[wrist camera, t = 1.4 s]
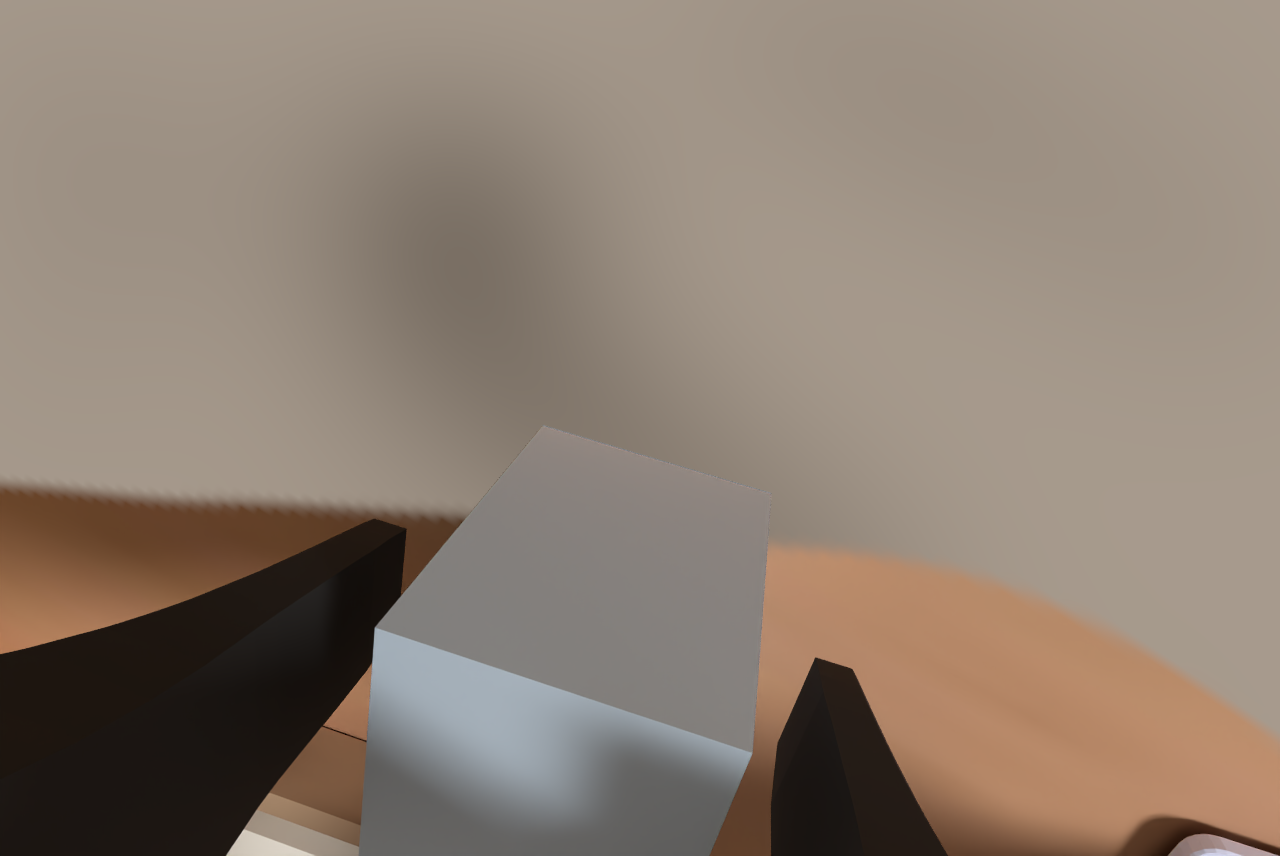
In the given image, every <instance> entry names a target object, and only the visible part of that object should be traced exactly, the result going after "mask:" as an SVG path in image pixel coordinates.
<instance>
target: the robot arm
mask: <svg viewBox="0 0 1280 856" xmlns="http://www.w3.org/2000/svg"><path fill="white" fill-rule="evenodd" d="M406 530H407V529H405V528H402V527H399V526H396V525H393V524H389V523H386V522H383V521H380V520H377V519H372V520H370V521H368V522H365V523H363V524H361V525H358V526H356V527H354V528H352V529H350V530H348V531H346V532H343V533H341V534H339V535H337V536H335V537H333V538H331V539H329V540H327V541H324V542H322V543H320V544H318V545H316V546H314V547H312V548H310V549H307V550H305V551H303V552H301V553H299V554H296V555H294V556H292V557H290V558H288V559H285V560H283V561H281V562H279V563H277V564H274V565H272V566H270V567H268V568H266V569H263V570H261V571H259V572H256V573H254V574H251V575H249V576H247V577H244V578H242V579H239V580H237V581H234V582H232V583H229V584H227V585H224V586H222V587H220V588H217V589H215V590H212V591H210V592H207V593H205V594H202V595H200V596H197V597H195V598H192V599H189V600H187V601H184V602H181V603H178V604H176V605H173V606H170V607H167V608H164V609H161V610H159V611H155V612H152V613H149V614H146V615H143V616H140V617H137V618H134V619H131V620H128V621H125V622H122V623H118V624H115V625H112V626H108V627H105V628H101V629H98V630H94V631H90V632H86V633H83V634H79V635H75V636H71V637H68V638H64V639H60V640H56V641H53V642H49V643H45V644H41V645H38V646H34V647H30V648H26V649H22V650H18V651H13V652H9V653H4V654H0V856H226V855H227V854H228V852H229V851H230V849H231V848H232V846H233V845H234V843H235V842H236V840H237V839H238V837H239V836H240V834H241V833H242V831H243V830H244V828H245V827H246V825H247V824H248V822H249V821H250V819H251V818H252V816H253V815H254V813H255V812H256V810H257V809H258V807H259V806H260V804H261V803H262V802H263V800H264V799H265V798H266V796H267V795H268V794H269V792H270V791H271V790H272V788H273V787H274V786H275V784H276V783H277V782H278V780H279V779H280V778H281V777H282V775H283V774H284V773H285V772H286V770H287V769H288V768H289V767H290V765H291V764H292V763H293V762H294V761H295V759H296V758H297V757H298V756H299V754H300V753H301V752H302V751H303V749H304V748H305V747H306V746H307V744H308V743H309V742H310V741H311V740H312V738H313V737H314V736H315V735H316V733H317V732H318V731H319V730H320V728H321V727H322V726H323V725H324V723H325V722H326V721H327V720H328V719H329V717H330V716H331V715H332V714H333V712H334V711H335V710H336V709H337V707H338V706H339V705H340V704H341V702H342V701H343V700H344V699H345V697H346V696H347V695H348V694H349V692H350V691H351V690H352V689H353V687H354V686H355V685H356V684H357V682H358V681H359V680H360V678H361V677H362V676H363V675H364V673H365V672H366V671H367V670H368V668H369V666H370V665H371V663H372V662H373V648H374V634H375V627H376V626H377V625H378V623H379V622H380V621H381V620H382V619H383V617H384V616H385V615H386V614H387V612H388V611H389V610H390V609H391V608H392V606H393V605H394V604H395V603H396V602H397V600H398V599H399V598H400V597H401V586H402V574H403V563H404V552H405V541H406ZM771 856H948V855H947V854H946V852H945V850H944V848H943V847H942V845H941V843H940V841H939V840H938V838H937V836H936V834H935V833H934V831H933V829H932V828H931V826H930V824H929V822H928V821H927V819H926V817H925V815H924V813H923V811H922V810H921V808H920V806H919V804H918V802H917V801H916V799H915V797H914V795H913V793H912V791H911V789H910V787H909V785H908V783H907V781H906V779H905V777H904V775H903V774H902V772H901V770H900V768H899V766H898V764H897V762H896V760H895V758H894V756H893V754H892V752H891V750H890V748H889V746H888V744H887V742H886V740H885V737H884V735H883V733H882V731H881V729H880V727H879V725H878V723H877V721H876V718H875V716H874V714H873V712H872V710H871V708H870V705H869V703H868V701H867V699H866V697H865V694H864V692H863V690H862V688H861V686H860V684H859V681H858V679H857V677H856V675H855V673H854V671H853V669H851V668H848V667H844V666H841V665H838V664H835V663H832V662H828V661H825V660H822V659H819V658H816V657H815V660H814V662H813V664H812V666H811V669H810V671H809V673H808V676H807V678H806V680H805V682H804V685H803V687H802V689H801V691H800V694H799V696H798V698H797V700H796V703H795V705H794V707H793V710H792V712H791V714H790V716H789V719H788V721H787V723H786V725H785V728H784V730H783V732H782V735H781V737H780V739H779V741H778V745H777V754H776V762H775V771H774V780H773V790H772V801H771ZM1168 856H1278V855H1275V854H1272V853H1269V852H1266V851H1263V850H1260V849H1257V848H1253V847H1250V846H1247V845H1244V844H1241V843H1238V842H1235V841H1232V840H1229V839H1226V838H1223V837H1219V836H1216V835H1210V834H1195V835H1192V836H1189V837H1186V838H1185V839H1183V840H1182V841H1181V842H1179V844H1178V845H1177V846H1176V847H1175V848H1174V849H1173V850H1172V851H1171V853H1170V854H1169V855H1168Z"/></svg>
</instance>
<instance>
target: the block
mask: <svg viewBox="0 0 1280 856" xmlns="http://www.w3.org/2000/svg"><path fill="white" fill-rule="evenodd" d="M770 506H771V493H769V492H766V491H763V490H760V489H756V488H752V487H749V486H746V485H743V484H739V483H736V482H733V481H729V480H726V479H723V478H719V477H716V476H712V475H709V474H706V473H702V472H699V471H696V470H692V469H689V468H686V467H682V466H679V465H675V464H672V463H669V462H665V461H662V460H659V459H655V458H652V457H649V456H645V455H642V454H638V453H635V452H632V451H628V450H625V449H621V448H618V447H615V446H612V445H608V444H605V443H601V442H598V441H595V440H591V439H588V438H584V437H581V436H577V435H574V434H571V433H568V432H564V431H561V430H558V429H554V428H551V427H548V426H544V425H543V426H542V427H541V428H540V429H539V431H538V432H537V433H536V434H535V435H534V437H533V438H532V439H531V440H530V441H529V443H528V444H527V445H526V446H525V447H524V449H523V450H522V451H521V452H520V453H519V455H518V456H517V457H516V458H515V460H514V461H513V462H512V463H511V464H510V465H509V467H508V468H507V469H506V470H505V472H504V473H503V474H502V475H501V476H500V477H499V479H498V480H497V481H496V482H495V484H494V485H493V486H492V487H491V489H490V490H489V491H488V492H487V493H486V495H485V496H484V497H483V498H482V499H481V500H480V502H479V503H478V504H477V505H476V506H475V508H474V509H473V510H472V511H471V512H470V514H469V515H468V516H467V517H466V518H465V520H464V521H463V522H462V523H461V524H460V526H459V527H458V528H457V529H456V531H455V532H454V533H453V534H452V535H451V537H450V538H449V539H448V540H447V541H446V543H445V544H444V545H443V546H442V547H441V549H440V550H439V551H438V552H437V553H436V555H435V556H434V557H433V558H432V559H431V561H430V562H429V563H428V564H427V565H426V567H425V568H424V569H423V570H422V572H421V573H420V574H419V575H418V576H417V578H416V579H415V580H414V581H413V582H412V584H411V585H410V586H409V587H408V588H407V590H406V591H405V592H404V593H403V594H402V596H401V597H400V598H399V599H398V600H397V602H396V603H395V604H394V605H393V606H392V608H391V609H390V610H389V611H388V612H387V614H386V615H385V616H384V617H383V619H382V620H381V621H380V622H379V623H378V625H377V626H376V627H375V634H374V648H373V662H372V676H371V689H370V703H369V717H368V731H367V745H366V759H365V773H364V787H363V800H362V814H361V828H360V842H359V856H709V855H710V853H711V851H712V848H713V846H714V844H715V841H716V839H717V836H718V834H719V832H720V829H721V827H722V825H723V822H724V820H725V817H726V815H727V813H728V810H729V808H730V806H731V803H732V801H733V798H734V796H735V794H736V791H737V789H738V787H739V784H740V782H741V779H742V777H743V775H744V772H745V770H746V768H747V765H748V763H749V760H750V758H751V756H752V753H753V740H754V727H755V713H756V699H757V685H758V671H759V658H760V644H761V630H762V616H763V602H764V588H765V575H766V561H767V547H768V533H769V519H770Z"/></svg>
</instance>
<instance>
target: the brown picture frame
mask: <svg viewBox="0 0 1280 856" xmlns="http://www.w3.org/2000/svg"><path fill="white" fill-rule="evenodd" d="M366 745H367V742H364V741H362V740H359V739H356V738H353V737H350V736H347V735H344V734H341V733H339V732H336V731H333V730H330V729H327V728H324V727H321V728H320V730H319V731H318V732H317V733H316V735H315V736H314V737H313V738H312V740H311V741H310V742H309V743H308V744H307V746H306V747H305V748H304V749H303V751H302V752H301V753H300V754H299V756H298V757H297V758H296V759H295V761H294V762H293V763H292V764H291V765H290V767H289V768H288V769H287V770H286V772H285V773H284V774H283V775H282V777H281V778H280V779H279V780H278V782H277V783H276V784H275V786H274V787H273V788H272V790H271V791H270V792H269V794H268V795H267V796H266V798H265V799H264V800H263V802H262V803H261V804H260V806H259V807H258V809H257V810H256V812H255V813H254V815H253V816H252V818H251V819H250V821H249V822H248V824H247V825H246V827H245V828H244V830H243V831H242V833H241V834H240V836H239V837H238V839H237V840H236V842H235V843H234V845H233V846H232V848H231V849H230V851H229V852H228V854H227V855H226V856H359V842H360V828H361V814H362V800H363V787H364V773H365V759H366Z"/></svg>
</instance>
